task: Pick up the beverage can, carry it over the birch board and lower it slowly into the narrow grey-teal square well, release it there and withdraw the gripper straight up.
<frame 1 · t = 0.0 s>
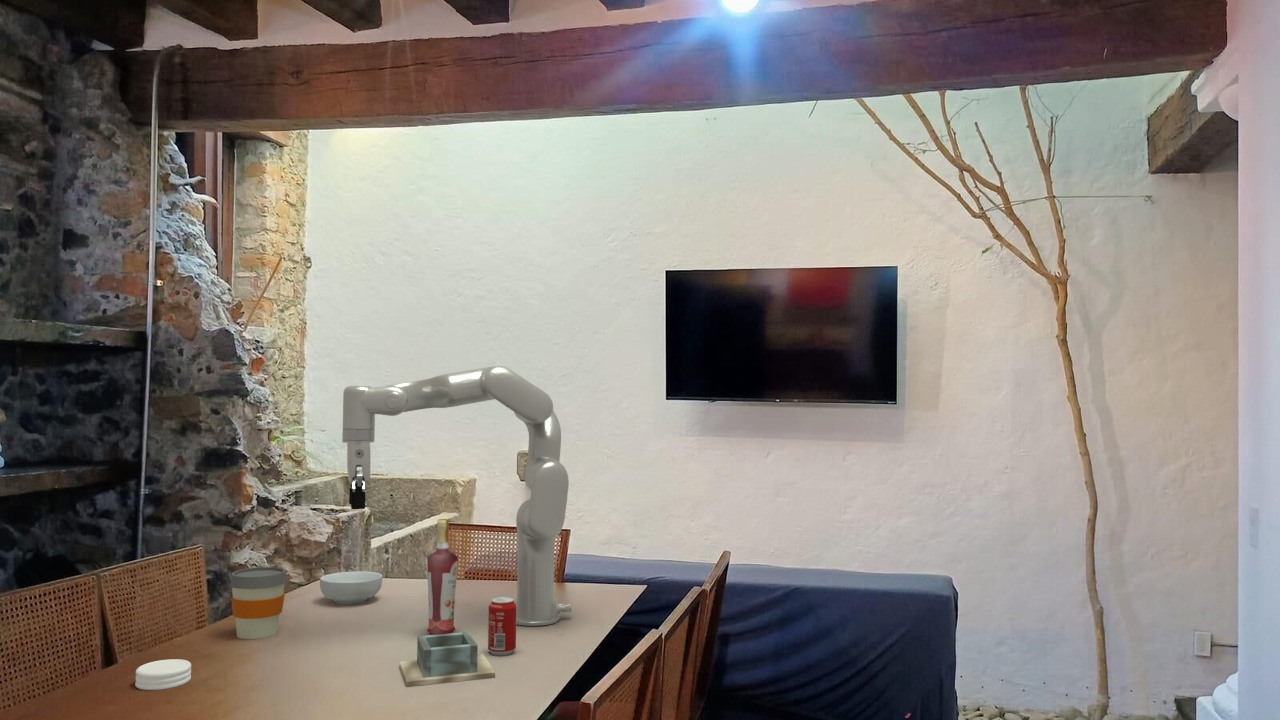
hand: (356, 506, 215), 31 cm above the table, tool pointing down, fingers open, 9 cm apart
well board: (446, 671, 187), on the table
cereal bowl: (350, 602, 248), on the table
coaster: (163, 684, 178), on the table
liquor: (441, 635, 215), on the table
beverage can: (501, 653, 201), on the table
reusable coffee cup: (257, 634, 214), on the table
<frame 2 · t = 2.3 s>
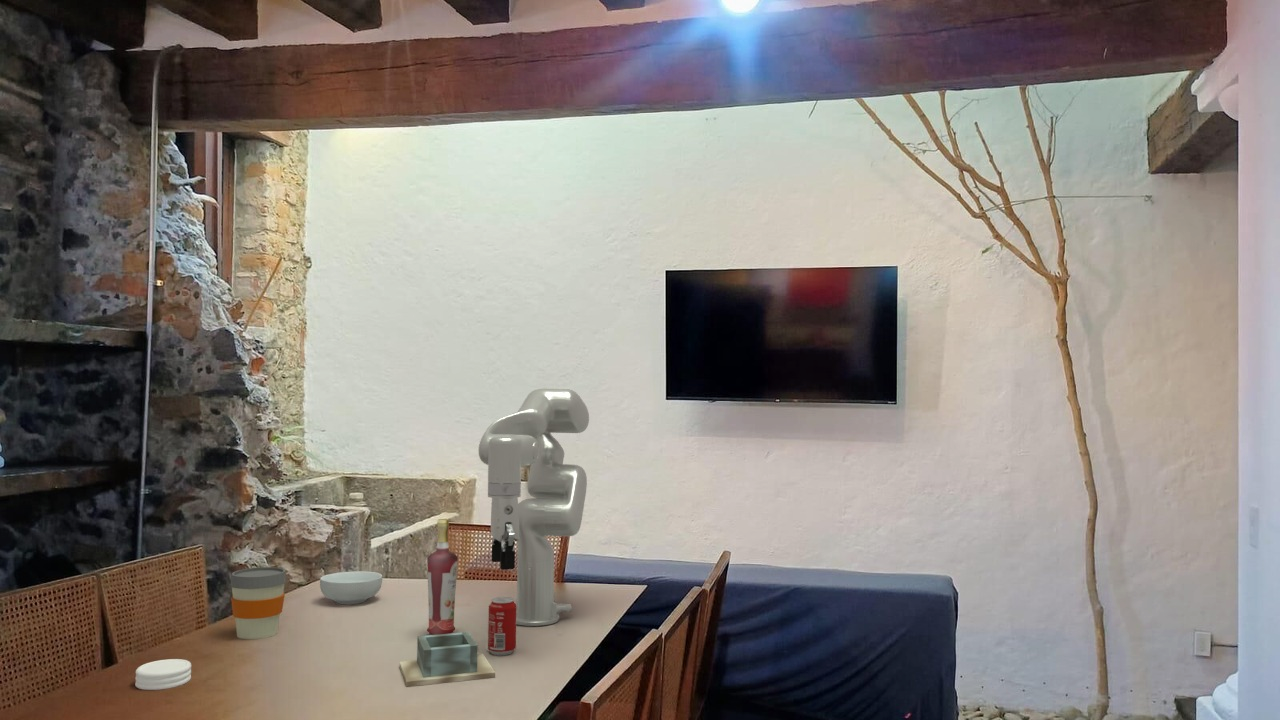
hand: (502, 565, 202), 20 cm above the table, tool pointing down, fingers open, 9 cm apart
nothing on the table moved.
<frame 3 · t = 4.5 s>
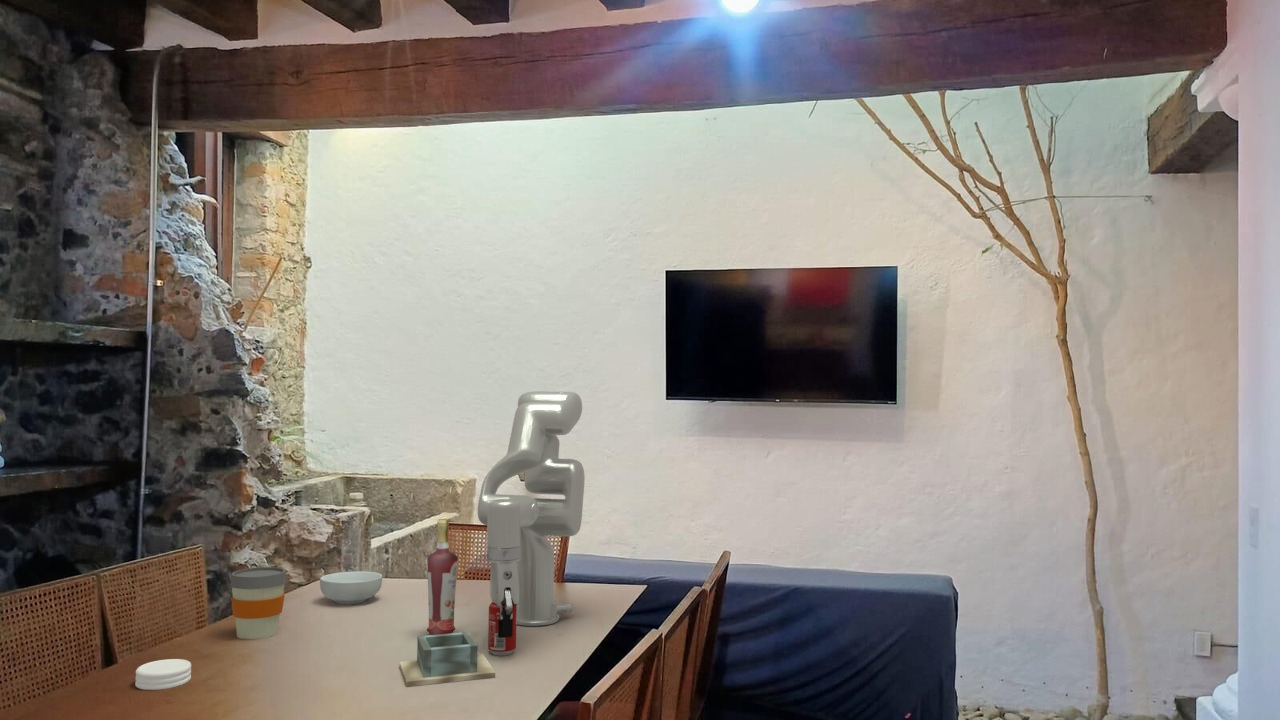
hand: (502, 632, 201), 4 cm above the table, tool pointing down, fingers closed on beverage can, 5 cm apart
beverage can: (502, 653, 201), on the table, touching gripper
everything else where it was.
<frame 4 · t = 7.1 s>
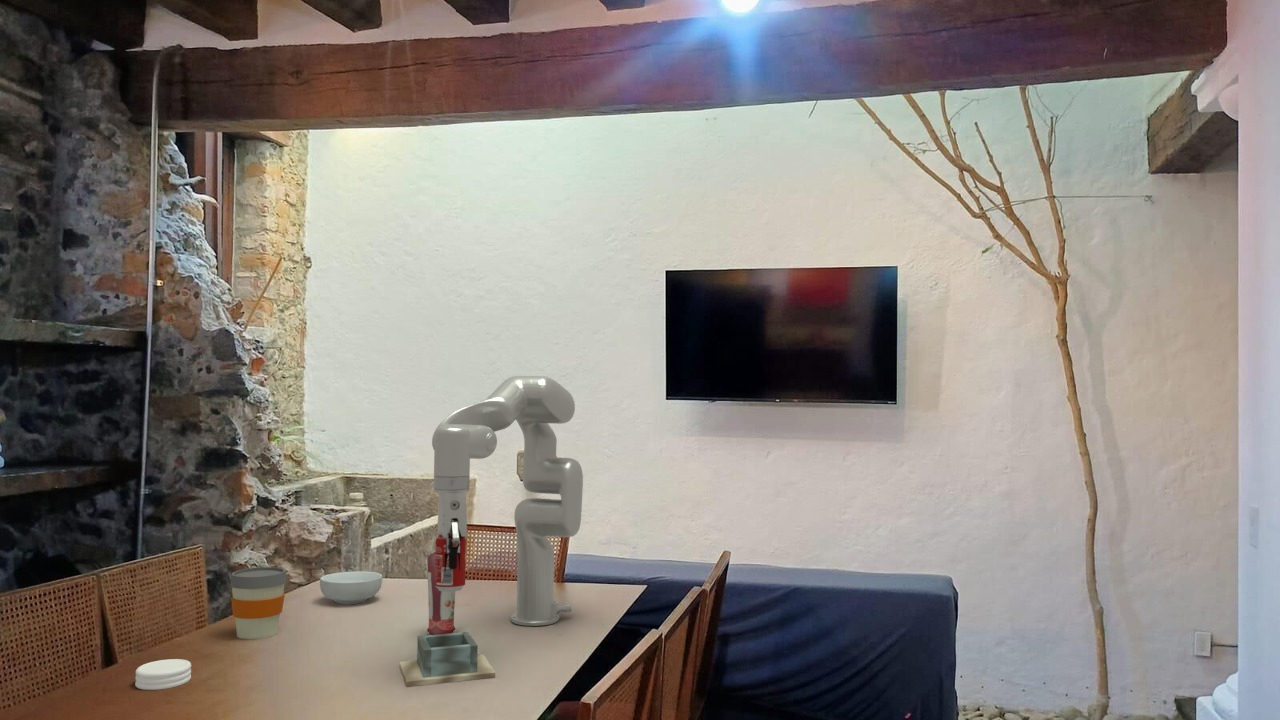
hand: (449, 568, 188), 22 cm above the table, tool pointing down, fingers closed on beverage can, 5 cm apart
beverage can: (450, 590, 187), point 17 cm above the table, touching gripper
everything else where it was.
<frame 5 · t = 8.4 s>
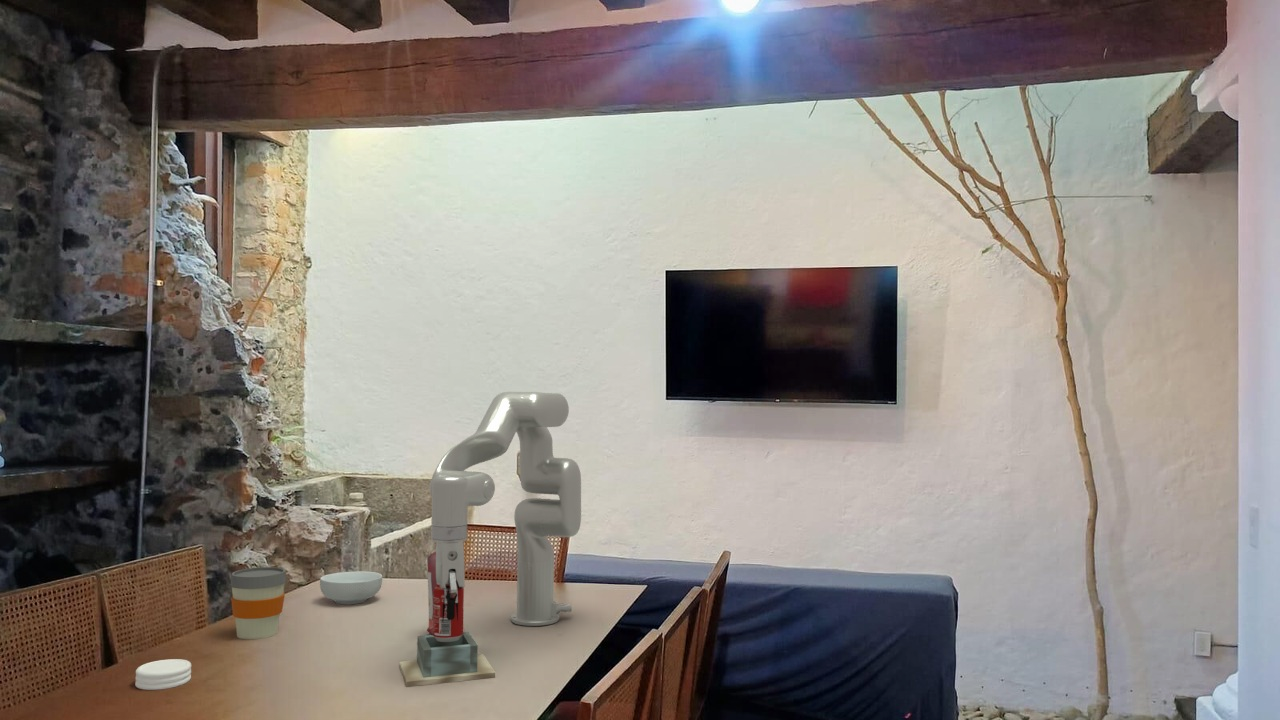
hand: (447, 617, 187), 11 cm above the table, tool pointing down, fingers closed on beverage can, 5 cm apart
beverage can: (448, 640, 186), point 7 cm above the table, touching gripper
everything else where it was.
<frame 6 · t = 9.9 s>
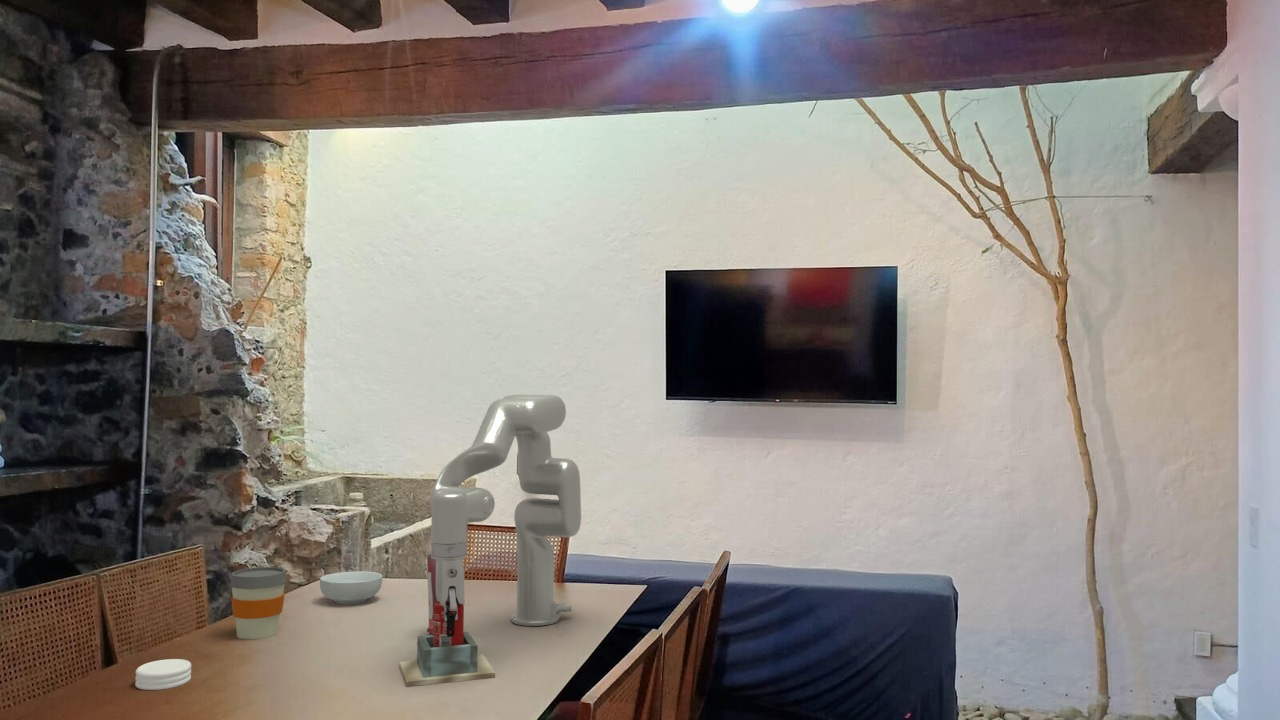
hand: (447, 634, 187), 8 cm above the table, tool pointing down, fingers closed on beverage can, 5 cm apart
beverage can: (448, 657, 186), point 3 cm above the table, touching gripper, well board
everything else where it was.
when the fingers open (8 cm above the table, at t = 9.9 s): beverage can drops 2 cm, resting on well board.
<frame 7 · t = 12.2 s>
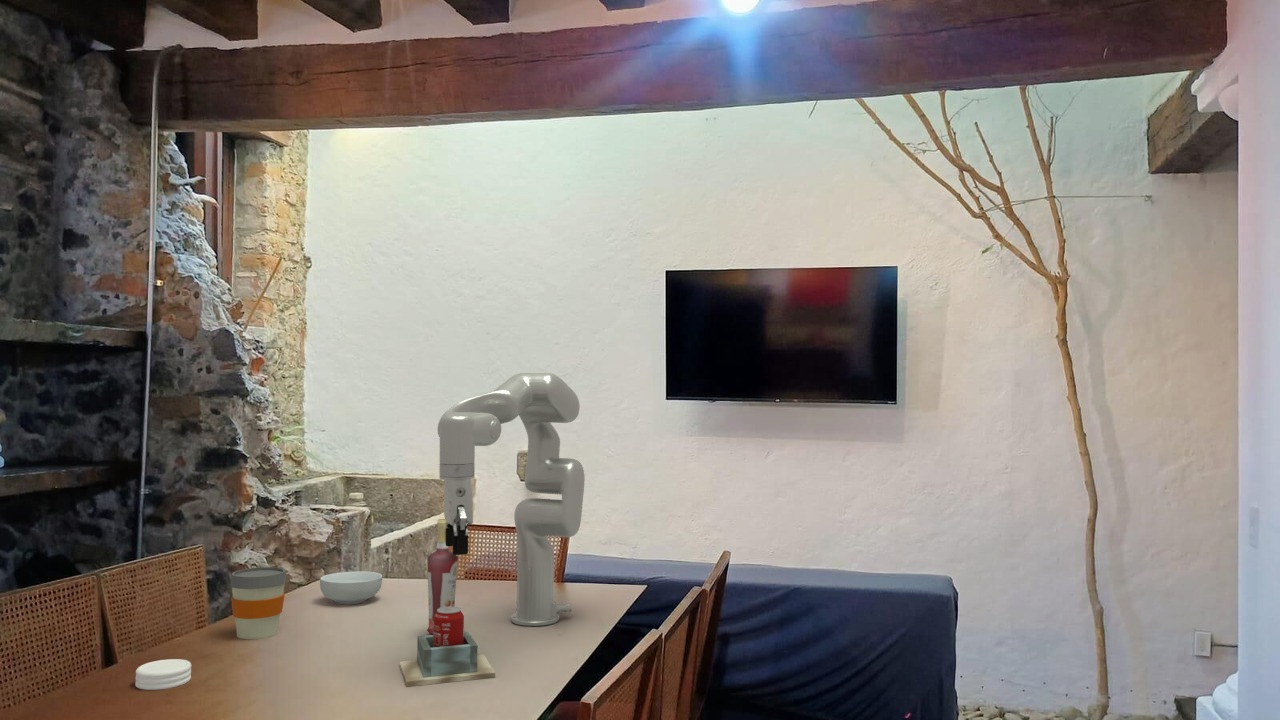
hand: (456, 550, 192), 25 cm above the table, tool pointing down, fingers open, 9 cm apart
beverage can: (447, 667, 187), point 1 cm above the table, touching well board
everything else where it was.
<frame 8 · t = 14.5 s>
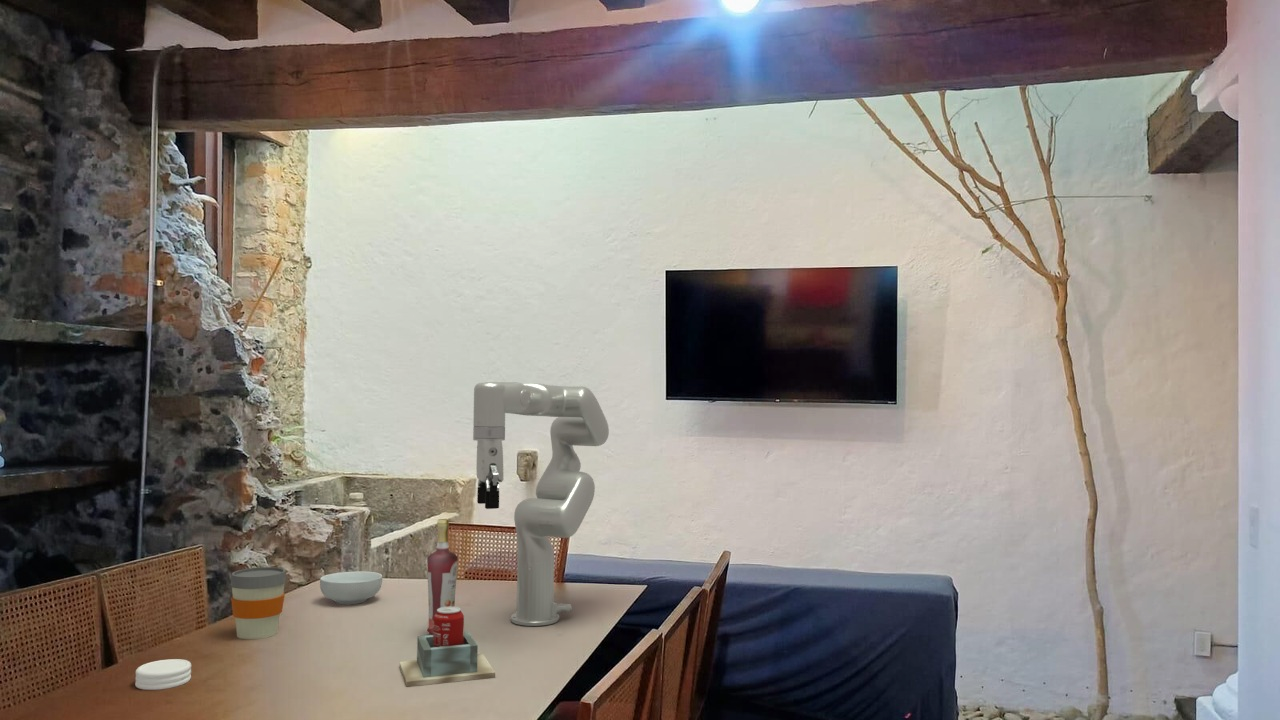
hand: (487, 505, 210), 32 cm above the table, tool pointing down, fingers open, 9 cm apart
nothing on the table moved.
at the end: beverage can 0.6 cm off-centre on the well board, point 0.8 cm above the well board's base; beverage can tilted 0°; the gripper is holding nothing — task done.
